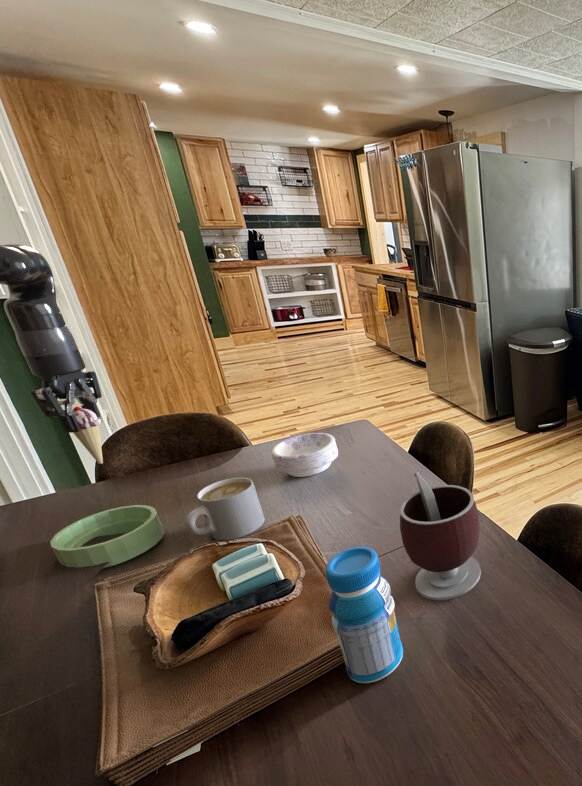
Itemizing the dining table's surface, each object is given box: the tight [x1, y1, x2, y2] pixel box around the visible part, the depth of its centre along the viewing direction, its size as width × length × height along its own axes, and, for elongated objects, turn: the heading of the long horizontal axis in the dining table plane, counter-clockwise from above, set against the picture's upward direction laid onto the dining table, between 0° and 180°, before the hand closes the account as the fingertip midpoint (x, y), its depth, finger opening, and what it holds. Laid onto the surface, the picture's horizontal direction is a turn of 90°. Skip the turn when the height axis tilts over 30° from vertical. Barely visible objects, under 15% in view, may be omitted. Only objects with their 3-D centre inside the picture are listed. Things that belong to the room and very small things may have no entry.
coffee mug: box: [185, 477, 266, 541], centre depth 104 cm, size 13×10×10 cm
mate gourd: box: [399, 471, 482, 601], centre depth 89 cm, size 16×14×20 cm
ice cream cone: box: [72, 406, 104, 470], centre depth 103 cm, size 6×6×15 cm
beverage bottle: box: [325, 546, 404, 684], centre depth 71 cm, size 8×8×20 cm
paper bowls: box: [271, 432, 339, 478], centre depth 131 cm, size 15×15×8 cm
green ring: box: [49, 504, 166, 569], centre depth 99 cm, size 16×16×6 cm
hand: (84, 425), depth 102 cm, fingers closed on ice cream cone, 5 cm apart
